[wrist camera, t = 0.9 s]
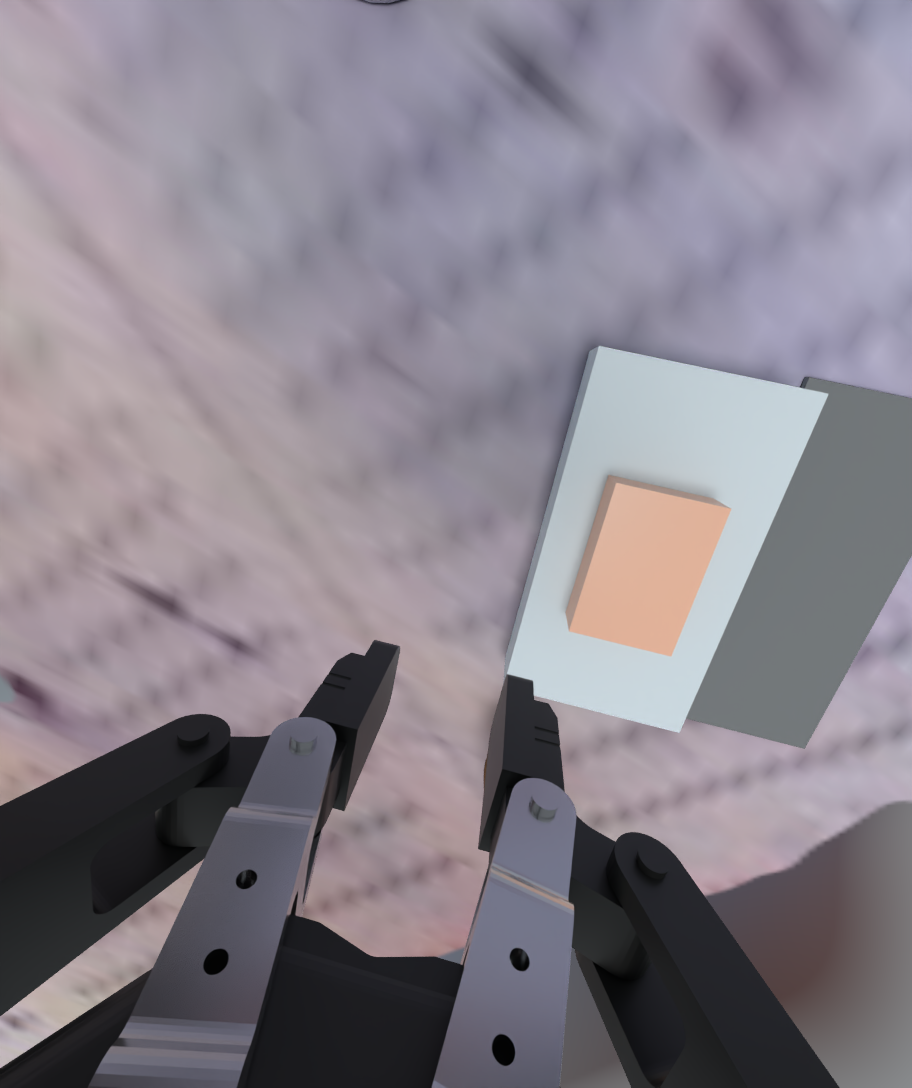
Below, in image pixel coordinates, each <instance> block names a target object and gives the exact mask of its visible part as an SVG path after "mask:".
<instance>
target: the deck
mask: <svg viewBox="0 0 912 1088" xmlns="http://www.w3.org/2000/svg"><path fill="white" fill-rule="evenodd" d="M827 397H828V394H827V393H823V392H818V391H813V390H808V389H803V388H799V387H794V386H789V385H784V384H780V383H775V382H770V381H765V380H760V379H756V378H751V377H746V376H741V375H736V374H732V373H727V372H722V371H717V370H712V369H708V368H703V367H698V366H693V365H689V364H684V363H679V362H674V361H669V360H665V359H660V358H655V357H650V356H645V355H641V354H636V353H631V352H626V351H621V350H617V349H612V348H607V347H602V346H598V347H596V348H594V349H593V350H591V351H589V355H588V359H587V362H586V366H585V370H584V373H583V377H582V380H581V384H580V388H579V391H578V395H577V399H576V402H575V406H574V410H573V413H572V417H571V420H570V424H569V428H568V431H567V435H566V439H565V442H564V446H563V449H562V453H561V457H560V460H559V464H558V468H557V471H556V475H555V478H554V482H553V486H552V489H551V493H550V497H549V500H548V504H547V508H546V511H545V515H544V518H543V522H542V526H541V529H540V533H539V537H538V540H537V544H536V547H535V551H534V555H533V558H532V562H531V566H530V569H529V573H528V577H527V580H526V584H525V587H524V591H523V595H522V598H521V602H520V606H519V609H518V613H517V616H516V620H515V624H514V627H513V631H512V635H511V638H510V642H509V646H508V649H507V653H506V656H505V669H504V681H505V677H506V675H507V674H509V675H513V676H517V677H521V678H525V679H529V680H533V687H534V696H538V697H542V698H546V699H550V700H554V701H558V702H561V703H565V704H569V705H573V706H577V707H581V708H585V709H589V710H592V711H596V712H600V713H604V714H608V715H612V716H616V717H620V718H623V719H627V720H631V721H635V722H639V723H643V724H647V725H651V726H655V727H658V728H662V729H666V730H670V731H674V732H678V733H680V730H681V728H682V726H683V723H684V721H685V719H686V717H687V714H688V712H689V710H690V708H691V705H692V703H693V701H694V699H695V696H696V694H697V692H698V689H699V687H700V685H701V683H702V680H703V678H704V676H705V674H706V671H707V669H708V667H709V664H710V662H711V660H712V658H713V655H714V653H715V651H716V649H717V646H718V644H719V642H720V639H721V637H722V635H723V633H724V630H725V628H726V626H727V624H728V621H729V619H730V617H731V615H732V612H733V610H734V608H735V605H736V603H737V601H738V599H739V596H740V594H741V592H742V590H743V587H744V585H745V583H746V580H747V578H748V576H749V574H750V571H751V569H752V567H753V565H754V562H755V560H756V558H757V556H758V553H759V551H760V549H761V546H762V544H763V542H764V540H765V537H766V535H767V533H768V531H769V528H770V526H771V524H772V521H773V519H774V517H775V515H776V512H777V510H778V508H779V506H780V503H781V501H782V499H783V496H784V494H785V492H786V490H787V487H788V485H789V483H790V481H791V478H792V476H793V474H794V472H795V469H796V467H797V465H798V462H799V460H800V458H801V456H802V453H803V451H804V449H805V447H806V444H807V442H808V440H809V437H810V435H811V433H812V431H813V428H814V426H815V424H816V422H817V419H818V417H819V415H820V413H821V410H822V408H823V406H824V403H825V401H826V399H827ZM608 475H612V476H616V477H621V478H625V479H629V480H634V481H638V482H643V483H647V484H652V485H656V486H660V487H665V488H669V489H674V490H678V491H683V492H687V493H691V494H696V495H700V496H705V497H709V498H714V499H715V500H717V501H719V502H721V503H722V504H724V505H726V506H727V507H729V508H731V511H730V514H729V516H728V519H727V521H726V524H725V526H724V529H723V531H722V533H721V536H720V538H719V541H718V543H717V546H716V548H715V551H714V553H713V556H712V558H711V560H710V563H709V565H708V568H707V570H706V573H705V575H704V578H703V580H702V583H701V585H700V587H699V590H698V592H697V595H696V597H695V600H694V602H693V605H692V607H691V610H690V612H689V614H688V617H687V619H686V622H685V624H684V627H683V629H682V632H681V634H680V637H679V639H678V641H677V644H676V646H675V649H674V651H673V654H672V656H667V655H662V654H658V653H654V652H650V651H646V650H642V649H638V648H634V647H630V646H626V645H622V644H618V643H614V642H610V641H606V640H602V639H598V638H594V637H590V636H586V635H582V634H578V633H574V632H570V631H569V629H568V624H567V618H566V613H565V612H566V609H567V606H568V603H569V600H570V596H571V593H572V590H573V587H574V584H575V580H576V577H577V574H578V571H579V568H580V564H581V561H582V558H583V555H584V552H585V548H586V545H587V542H588V539H589V536H590V532H591V529H592V526H593V523H594V520H595V516H596V513H597V510H598V507H599V504H600V500H601V497H602V494H603V491H604V488H605V484H606V481H607V478H608ZM503 684H504V683H503Z"/></svg>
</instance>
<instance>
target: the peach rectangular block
mask: <svg viewBox="0 0 912 1088" xmlns="http://www.w3.org/2000/svg"><path fill="white" fill-rule="evenodd" d="M730 511H731V508H729V507H727V506H726V505H724V504H722V503H721V502H719V501H717V500H715V499H714V498H709V497H705V496H700V495H696V494H691V493H687V492H683V491H678V490H674V489H669V488H665V487H660V486H656V485H652V484H647V483H643V482H638V481H634V480H629V479H625V478H621V477H616V476H612V475H608V478H607V481H606V484H605V488H604V491H603V494H602V497H601V500H600V504H599V507H598V510H597V513H596V516H595V520H594V523H593V526H592V529H591V532H590V536H589V539H588V542H587V545H586V548H585V552H584V555H583V558H582V561H581V564H580V568H579V571H578V574H577V577H576V580H575V584H574V587H573V590H572V593H571V596H570V600H569V603H568V606H567V609H566V612H565V613H566V618H567V624H568V629H569V631H570V632H574V633H578V634H582V635H586V636H590V637H594V638H598V639H602V640H606V641H610V642H614V643H618V644H622V645H626V646H630V647H634V648H638V649H642V650H646V651H650V652H654V653H658V654H662V655H667V656H672V654H673V651H674V649H675V646H676V644H677V641H678V639H679V637H680V634H681V632H682V629H683V627H684V624H685V622H686V619H687V617H688V614H689V612H690V610H691V607H692V605H693V602H694V600H695V597H696V595H697V592H698V590H699V587H700V585H701V583H702V580H703V578H704V575H705V573H706V570H707V568H708V565H709V563H710V560H711V558H712V556H713V553H714V551H715V548H716V546H717V543H718V541H719V538H720V536H721V533H722V531H723V529H724V526H725V524H726V521H727V519H728V516H729V514H730Z"/></svg>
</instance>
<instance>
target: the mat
mask: <svg viewBox="0 0 912 1088" xmlns="http://www.w3.org/2000/svg"><path fill="white" fill-rule="evenodd" d="M801 388H803V389H808V390H813V391H818V392H823V393H827V394H828V397H827V399H826V401H825V403H824V406H823V408H822V410H821V413H820V415H819V417H818V419H817V422H816V424H815V426H814V428H813V431H812V433H811V435H810V437H809V440H808V442H807V444H806V447H805V449H804V451H803V453H802V456H801V458H800V460H799V462H798V465H797V467H796V469H795V472H794V474H793V476H792V478H791V481H790V483H789V485H788V487H787V490H786V492H785V494H784V496H783V499H782V501H781V503H780V506H779V508H778V510H777V512H776V515H775V517H774V519H773V521H772V524H771V526H770V528H769V531H768V533H767V535H766V537H765V540H764V542H763V544H762V546H761V549H760V551H759V553H758V556H757V558H756V560H755V562H754V565H753V567H752V569H751V571H750V574H749V576H748V578H747V580H746V583H745V585H744V587H743V590H742V592H741V594H740V596H739V599H738V601H737V603H736V605H735V608H734V610H733V612H732V615H731V617H730V619H729V621H728V624H727V626H726V628H725V630H724V633H723V635H722V637H721V639H720V642H719V644H718V646H717V649H716V651H715V653H714V655H713V658H712V660H711V662H710V664H709V667H708V669H707V671H706V674H705V676H704V678H703V680H702V683H701V685H700V687H699V689H698V692H697V694H696V696H695V699H694V701H693V703H692V705H691V708H690V710H689V712H688V714H687V717H686V719H690V720H694V721H698V722H702V723H706V724H710V725H714V726H718V727H722V728H725V729H729V730H733V731H737V732H741V733H745V734H749V735H753V736H757V737H761V738H765V739H768V740H772V741H776V742H780V743H784V744H788V745H792V746H796V747H800V748H804V749H805V747H806V745H807V743H808V742H809V740H810V738H811V736H812V734H813V733H814V731H815V729H816V727H817V725H818V724H819V722H820V720H821V718H822V716H823V715H824V713H825V711H826V709H827V707H828V706H829V704H830V702H831V700H832V698H833V696H834V695H835V693H836V691H837V689H838V687H839V686H840V684H841V682H842V680H843V678H844V677H845V675H846V673H847V671H848V669H849V668H850V666H851V664H852V662H853V660H854V659H855V657H856V655H857V653H858V651H859V650H860V648H861V646H862V644H863V642H864V641H865V639H866V637H867V635H868V633H869V631H870V630H871V628H872V626H873V624H874V622H875V621H876V619H877V617H878V615H879V613H880V612H881V610H882V608H883V606H884V604H885V603H886V601H887V599H888V597H889V595H890V594H891V592H892V590H893V588H894V586H895V585H896V583H897V581H898V579H899V577H900V576H901V574H902V572H903V570H904V568H905V567H906V565H907V563H908V561H909V559H910V557H911V556H912V398H907V397H902V396H898V395H893V394H888V393H883V392H878V391H873V390H869V389H864V388H859V387H854V386H849V385H844V384H840V383H835V382H830V381H825V380H820V379H815V378H811V377H805V378H804V380H803V383H802V385H801Z"/></svg>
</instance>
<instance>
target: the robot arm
mask: <svg viewBox="0 0 912 1088" xmlns="http://www.w3.org/2000/svg"><path fill="white" fill-rule="evenodd" d="M365 1H368V2H371V3H390V2H394V1H398V0H365ZM399 653H400V646H397V645H393V644H389V643H385V642H381V641H377V640H374V641H373V643H372V645H371V646H370V648H369V650H368V651H367V653H366V655H365V656H363V655H359V654H355V653H350V654H348V655H346V656H345V657H343V658H341V659H340V660H338V661H337V662H336V663H335V665H334V666H333V668H332V669H331V671H330V672H329V675H327V676H326V678H325V679H324V681H323V683H322V684H321V685H320V687H319V688H318V690H317V691H316V692H315V694H314V695H313V697H312V698H311V700H310V701H309V703H308V704H307V705H306V707H305V708H304V710H303V711H302V713H301V714H300V716H299V717H298V718H293V719H290V720H287V721H285V722H283V723H281V724H280V725H279V726H277V727H276V728H275V729H274V731H273V732H272V734H271V735H269V736H262V737H230V727H229V726H228V724H227V723H226V722H225V721H224V720H223V719H221V718H219V717H216V716H213V715H207V714H195V715H189V716H185V717H181V718H179V719H176V720H174V721H172V722H170V723H168V724H166V725H164V726H162V727H160V728H158V729H156V730H154V731H152V732H150V733H147V734H145V735H143V736H141V737H139V738H137V739H135V740H133V741H131V742H129V743H127V744H125V745H123V746H121V747H119V748H117V749H115V750H113V751H111V752H109V753H107V754H105V755H103V756H101V757H99V758H97V759H95V760H93V761H91V762H89V763H87V764H85V765H83V766H81V767H79V768H76V769H74V770H72V771H70V772H68V773H66V774H64V775H62V776H60V777H58V778H56V779H54V780H52V781H50V782H48V783H46V784H44V785H42V786H40V787H38V788H36V789H34V790H32V791H30V792H28V793H26V794H24V795H22V796H20V797H18V798H16V799H14V800H12V801H10V802H8V803H5V804H3V805H1V806H0V1016H1V1015H3V1014H4V1013H5V1012H6V1011H8V1010H9V1009H10V1008H12V1007H13V1006H14V1005H15V1004H17V1003H18V1002H19V1001H21V1000H22V999H23V998H24V997H26V996H27V995H28V994H30V993H31V992H32V991H34V990H35V989H36V988H37V987H39V986H40V985H41V984H43V983H44V982H45V981H46V980H48V979H49V978H50V977H52V976H53V975H54V974H56V973H57V972H58V971H59V970H61V969H62V968H63V967H65V966H66V965H67V964H68V963H70V962H71V961H72V960H74V959H75V958H76V957H77V956H79V955H80V954H81V953H83V952H84V951H85V950H87V949H88V948H89V947H90V946H92V945H93V944H94V943H96V942H97V941H98V940H99V939H101V938H102V937H103V936H105V935H106V934H107V933H109V932H110V931H111V930H112V929H114V928H115V927H116V926H118V925H119V924H120V923H121V922H123V921H124V920H125V919H127V918H128V917H129V916H130V915H132V914H133V913H134V912H136V911H137V910H138V909H140V908H141V907H142V906H143V905H145V904H146V903H147V902H149V901H150V900H151V899H152V898H154V897H155V896H156V895H158V894H159V893H160V892H162V891H163V890H164V889H165V888H167V887H168V886H169V885H171V884H172V883H173V882H174V881H176V880H177V879H178V878H180V877H181V876H182V875H183V874H185V873H186V872H187V871H189V870H190V869H191V868H193V867H194V866H195V865H196V864H198V863H199V862H200V861H202V860H203V859H204V858H205V859H204V861H203V863H202V865H201V867H200V869H199V871H198V873H197V876H196V878H195V880H194V882H193V884H192V886H191V888H190V890H189V893H188V895H187V897H186V899H185V901H184V903H183V905H182V907H181V910H180V912H179V914H178V916H177V918H176V920H175V922H174V925H173V927H172V929H171V931H170V933H169V935H168V937H167V939H166V942H165V944H164V946H163V948H162V950H161V952H160V954H159V956H158V959H157V961H156V963H155V965H154V967H153V968H152V969H151V970H149V971H148V972H146V973H145V974H143V975H142V976H140V977H139V978H137V979H136V980H134V981H133V982H131V983H129V984H128V985H126V986H125V987H123V988H122V989H120V990H119V991H117V992H116V993H114V994H113V995H111V996H110V997H108V998H107V999H105V1000H104V1001H102V1002H101V1003H99V1004H98V1005H96V1006H94V1007H93V1008H91V1009H90V1010H88V1011H87V1012H85V1013H84V1014H82V1015H81V1016H79V1017H78V1018H76V1019H75V1020H73V1021H72V1022H70V1023H69V1024H67V1025H66V1026H64V1027H63V1028H61V1029H60V1030H58V1031H56V1032H55V1033H53V1034H52V1035H50V1036H49V1037H47V1038H46V1039H44V1040H43V1041H41V1042H40V1043H38V1044H37V1045H35V1046H34V1047H32V1048H31V1049H29V1050H28V1051H26V1052H25V1053H23V1054H21V1055H20V1056H18V1057H17V1058H15V1059H14V1060H12V1061H11V1062H9V1063H8V1064H6V1065H5V1066H3V1067H2V1068H0V1088H560V1075H561V1064H562V1051H563V1040H564V1029H565V1017H566V1005H567V994H568V982H569V970H570V959H571V947H572V948H574V949H575V953H576V957H577V960H578V963H579V966H580V968H581V970H582V973H583V975H584V977H585V980H586V982H587V984H588V986H589V989H590V991H591V993H592V996H593V998H594V1001H595V1003H596V1005H597V1008H598V1010H599V1012H600V1015H601V1017H602V1019H603V1022H604V1024H605V1027H606V1029H607V1031H608V1034H609V1036H610V1038H611V1041H612V1043H613V1045H614V1048H615V1050H616V1052H617V1055H618V1057H619V1059H620V1062H621V1064H622V1066H623V1069H624V1071H625V1073H626V1076H627V1078H628V1081H629V1083H630V1085H631V1088H839V1086H838V1085H837V1083H836V1082H835V1081H834V1079H833V1078H832V1076H831V1075H830V1074H829V1072H828V1071H827V1069H826V1068H825V1066H824V1065H823V1064H822V1062H821V1061H820V1059H819V1058H818V1057H817V1055H816V1054H815V1052H814V1051H813V1050H812V1048H811V1047H810V1045H809V1044H808V1042H807V1041H806V1040H805V1038H804V1037H803V1036H802V1034H801V1032H800V1031H799V1030H798V1028H797V1027H796V1025H795V1024H794V1023H793V1021H792V1020H791V1018H790V1017H789V1015H788V1014H787V1013H786V1011H785V1010H784V1008H783V1007H782V1005H781V1004H780V1003H779V1001H778V1000H777V998H776V997H775V996H774V994H773V993H772V991H771V990H770V988H769V987H768V986H767V984H766V983H765V981H764V980H763V979H762V977H761V976H760V974H759V973H758V971H757V970H756V969H755V967H754V966H753V964H752V963H751V962H750V960H749V959H748V957H747V956H746V955H745V953H744V952H743V950H742V949H741V948H740V946H739V945H738V943H737V942H736V940H735V939H734V938H733V936H732V935H731V933H730V932H729V930H728V929H727V928H726V926H725V925H724V923H723V922H722V920H721V919H720V918H719V916H718V915H717V913H716V912H715V911H714V909H713V908H712V906H711V905H710V903H709V902H708V901H707V899H706V898H705V896H704V895H703V893H702V892H701V891H700V889H699V888H698V886H697V885H696V884H695V882H694V881H693V879H692V878H691V876H690V875H689V874H688V872H687V871H686V869H685V868H684V867H683V865H682V864H681V862H680V861H679V860H678V858H677V857H676V856H675V855H674V854H673V853H672V852H671V850H669V849H668V848H667V847H666V846H665V845H664V844H662V843H661V842H659V841H658V840H656V839H654V838H652V837H650V836H648V835H645V834H642V833H636V832H630V833H625V834H623V835H621V836H620V837H619V838H618V839H617V841H616V842H615V841H613V840H611V839H609V838H608V837H606V836H604V835H602V834H601V833H599V832H597V831H595V830H594V829H592V828H590V827H589V826H588V825H586V824H585V823H584V822H583V821H582V820H580V819H579V818H578V817H577V815H576V810H575V807H574V804H573V802H572V801H571V799H570V798H569V796H568V795H567V794H566V793H565V791H564V781H563V771H562V760H561V750H560V740H559V735H558V734H559V730H558V720H557V717H556V715H555V713H554V712H553V710H552V709H551V707H550V705H549V704H548V703H544V702H540V701H536V700H534V687H533V680H529V679H525V678H521V677H517V676H513V675H509V674H507V675H506V677H505V681H504V684H503V688H502V691H501V695H500V698H499V702H498V705H497V709H496V713H495V716H494V720H493V724H492V728H491V733H490V739H489V748H488V757H487V767H486V777H485V787H484V797H483V807H482V816H481V826H480V836H479V846H478V849H480V850H483V851H487V852H490V853H489V866H488V869H487V873H486V876H485V879H484V882H483V886H482V889H481V893H480V896H479V900H478V903H477V907H476V910H475V914H474V917H473V921H472V924H471V928H470V932H469V935H468V939H467V942H466V946H465V949H464V953H463V956H462V960H461V963H460V964H457V963H454V962H451V961H447V960H444V959H441V958H437V957H373V956H370V955H368V954H366V953H365V952H363V951H362V950H360V949H359V948H357V947H356V946H354V945H353V944H351V943H350V942H348V941H347V940H345V939H344V938H342V937H341V936H339V935H338V934H336V933H335V932H333V931H332V930H330V929H329V928H327V927H326V926H324V925H323V924H321V923H319V922H316V921H313V920H309V919H306V918H303V917H302V915H303V911H304V907H305V902H306V898H307V894H308V890H309V886H310V882H311V878H312V874H313V869H314V865H315V861H316V857H317V853H318V849H319V845H320V841H321V836H322V830H323V827H324V825H325V823H326V821H327V819H328V817H329V815H330V812H331V810H332V808H335V809H339V810H342V811H344V810H345V808H346V806H347V803H348V801H349V799H350V796H351V794H352V792H353V789H354V787H355V785H356V782H357V780H358V778H359V775H360V773H361V771H362V768H363V766H364V764H365V761H366V759H367V757H368V754H369V752H370V750H371V747H372V745H373V743H374V740H375V738H376V736H377V733H378V731H379V729H380V726H381V724H382V722H383V719H384V717H385V715H386V712H387V709H388V706H389V702H390V699H391V695H392V690H393V685H394V679H395V674H396V669H397V664H398V658H399Z"/></svg>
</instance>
